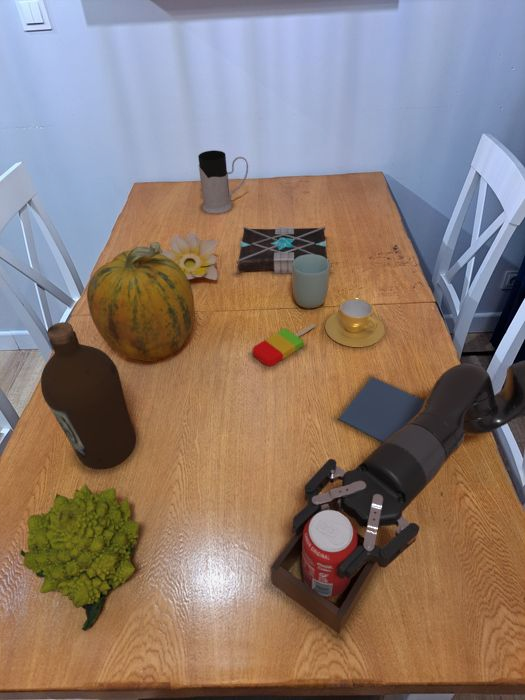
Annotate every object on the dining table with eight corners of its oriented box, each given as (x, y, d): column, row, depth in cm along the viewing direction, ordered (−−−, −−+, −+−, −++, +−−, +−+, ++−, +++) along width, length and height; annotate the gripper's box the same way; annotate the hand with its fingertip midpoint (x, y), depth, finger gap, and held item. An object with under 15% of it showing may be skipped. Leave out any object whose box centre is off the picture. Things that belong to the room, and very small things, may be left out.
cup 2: (313, 330, 100) (314, 309, 97) (348, 304, 107) (351, 283, 103) (360, 357, 94) (363, 335, 90) (396, 327, 100) (400, 306, 96)
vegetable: (97, 654, 54) (32, 544, 51) (39, 621, 65) (-18, 528, 62) (188, 559, 65) (140, 463, 61) (126, 544, 75) (81, 461, 72)
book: (237, 274, 117) (235, 256, 114) (243, 239, 129) (241, 221, 126) (328, 274, 116) (329, 255, 112) (325, 238, 128) (326, 220, 125)
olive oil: (123, 411, 86) (82, 295, 69) (151, 449, 80) (114, 332, 63) (64, 441, 81) (6, 325, 65) (89, 485, 75) (31, 369, 58)
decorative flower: (150, 287, 111) (147, 244, 106) (159, 271, 121) (156, 231, 116) (217, 289, 111) (216, 246, 107) (219, 272, 121) (219, 232, 117)
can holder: (378, 567, 64) (383, 549, 61) (339, 634, 58) (342, 619, 55) (313, 525, 69) (315, 506, 66) (271, 583, 63) (270, 566, 60)
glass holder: (201, 201, 147) (194, 151, 137) (247, 196, 149) (244, 146, 138) (203, 215, 141) (197, 163, 130) (252, 209, 142) (249, 157, 132)
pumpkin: (205, 368, 93) (187, 254, 77) (103, 386, 91) (61, 272, 74) (194, 310, 107) (177, 202, 90) (105, 324, 104) (70, 216, 88)
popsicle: (250, 354, 96) (249, 347, 94) (305, 321, 103) (305, 314, 101) (268, 369, 92) (268, 362, 91) (324, 334, 100) (324, 327, 98)
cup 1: (291, 292, 111) (292, 254, 104) (326, 292, 110) (328, 253, 103) (292, 313, 105) (292, 274, 98) (328, 313, 104) (331, 274, 98)
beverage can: (358, 568, 64) (368, 522, 56) (335, 611, 60) (342, 568, 52) (316, 543, 67) (320, 495, 59) (292, 582, 63) (292, 537, 55)
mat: (445, 412, 83) (446, 410, 83) (416, 460, 76) (416, 458, 76) (371, 378, 90) (372, 376, 89) (338, 419, 83) (338, 418, 83)
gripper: (445, 516, 62) (362, 613, 54) (356, 450, 70) (272, 526, 62) (459, 484, 57) (369, 585, 49) (361, 416, 65) (271, 494, 57)
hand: (316, 551), depth 56 cm, fingers closed on beverage can, 6 cm apart
